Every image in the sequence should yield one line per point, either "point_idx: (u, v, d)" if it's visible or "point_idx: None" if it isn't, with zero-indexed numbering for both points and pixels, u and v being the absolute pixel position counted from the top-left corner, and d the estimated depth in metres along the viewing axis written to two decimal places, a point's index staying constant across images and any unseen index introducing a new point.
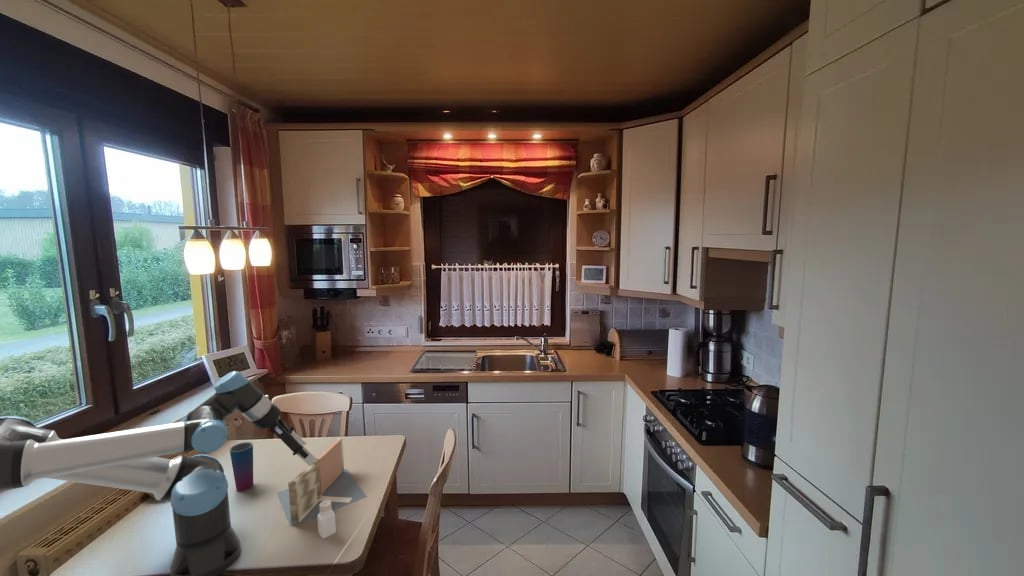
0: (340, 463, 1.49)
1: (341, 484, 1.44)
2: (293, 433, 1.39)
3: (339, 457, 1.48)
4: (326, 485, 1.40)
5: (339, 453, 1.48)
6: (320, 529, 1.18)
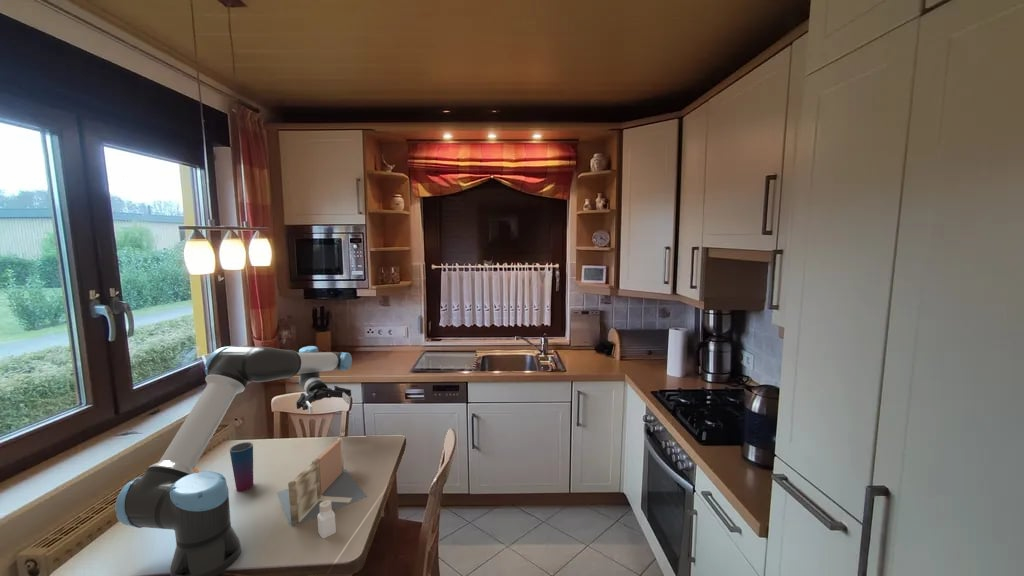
0: (340, 463, 1.49)
1: (341, 484, 1.44)
2: None
3: (339, 457, 1.48)
4: (326, 485, 1.40)
5: (339, 453, 1.48)
6: (320, 529, 1.18)
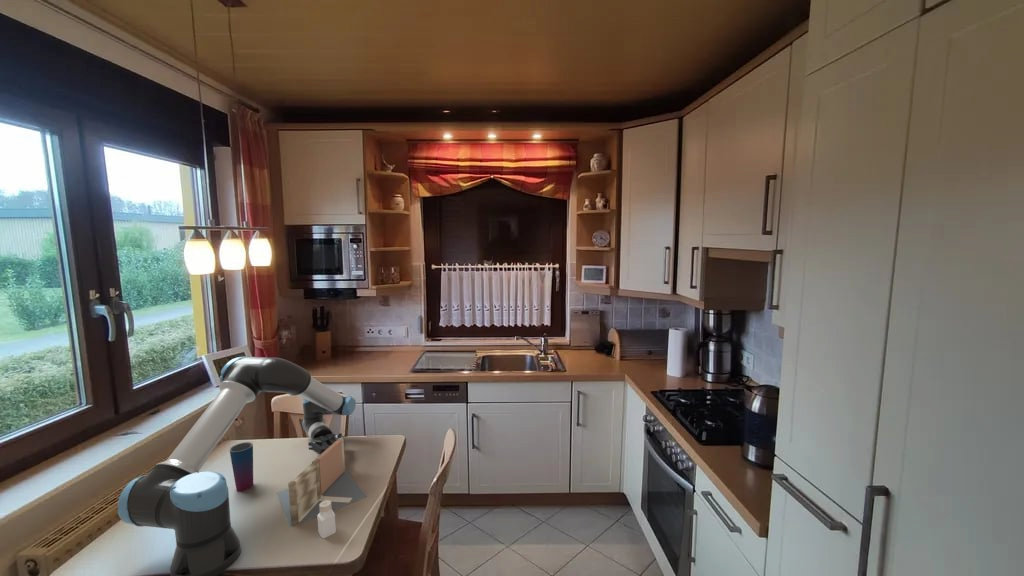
0: (341, 463, 1.49)
1: (341, 484, 1.44)
2: None
3: (340, 457, 1.48)
4: (326, 485, 1.40)
5: (340, 453, 1.48)
6: (320, 529, 1.18)
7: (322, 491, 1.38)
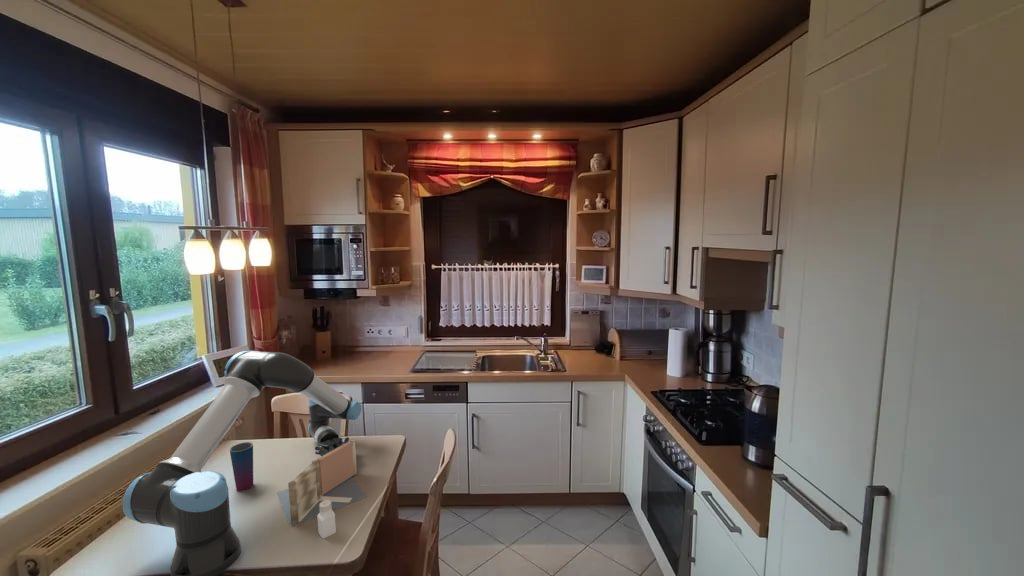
0: (351, 465, 1.48)
1: (341, 484, 1.44)
2: None
3: (350, 459, 1.47)
4: (329, 486, 1.39)
5: (350, 455, 1.47)
6: (320, 529, 1.18)
7: (323, 492, 1.37)
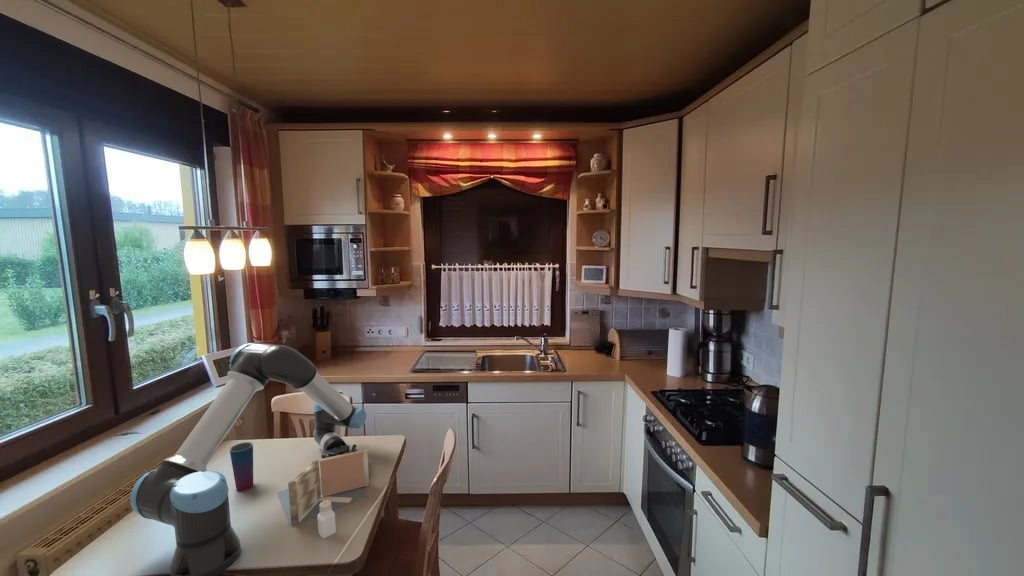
0: (361, 476, 1.41)
1: None
2: None
3: (359, 469, 1.40)
4: (331, 490, 1.37)
5: (360, 465, 1.40)
6: (320, 529, 1.18)
7: (323, 494, 1.36)
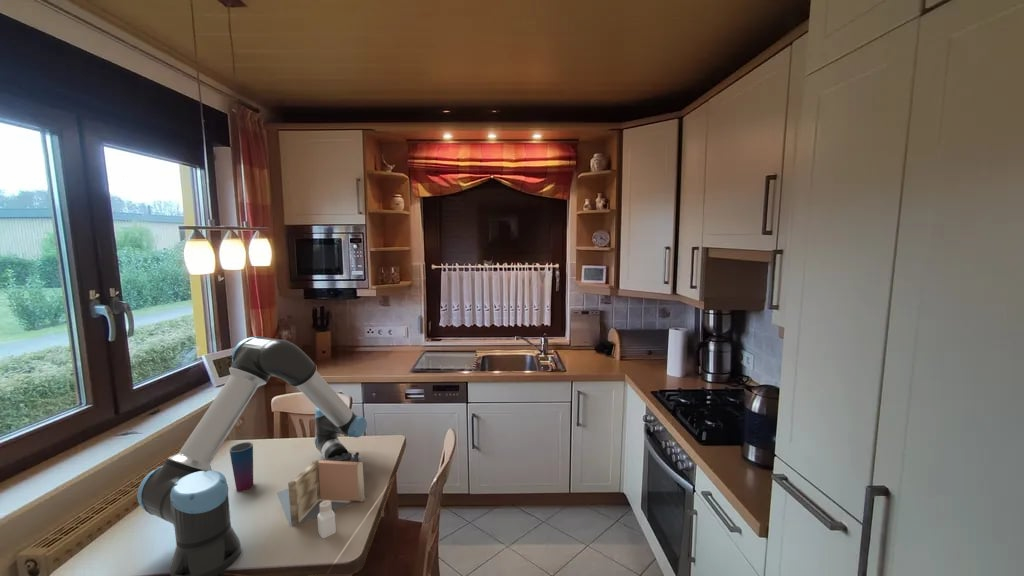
0: (355, 489, 1.33)
1: None
2: None
3: (354, 482, 1.33)
4: (328, 494, 1.35)
5: (354, 477, 1.33)
6: (320, 529, 1.18)
7: (321, 496, 1.35)
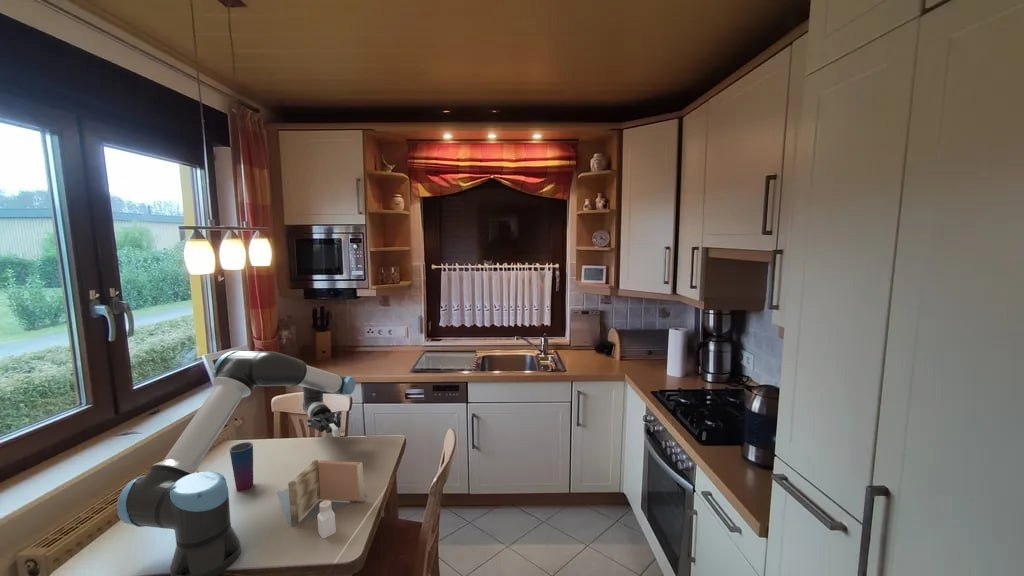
0: (355, 489, 1.33)
1: None
2: None
3: (354, 482, 1.33)
4: (328, 494, 1.35)
5: (354, 478, 1.33)
6: (320, 529, 1.18)
7: (321, 496, 1.35)
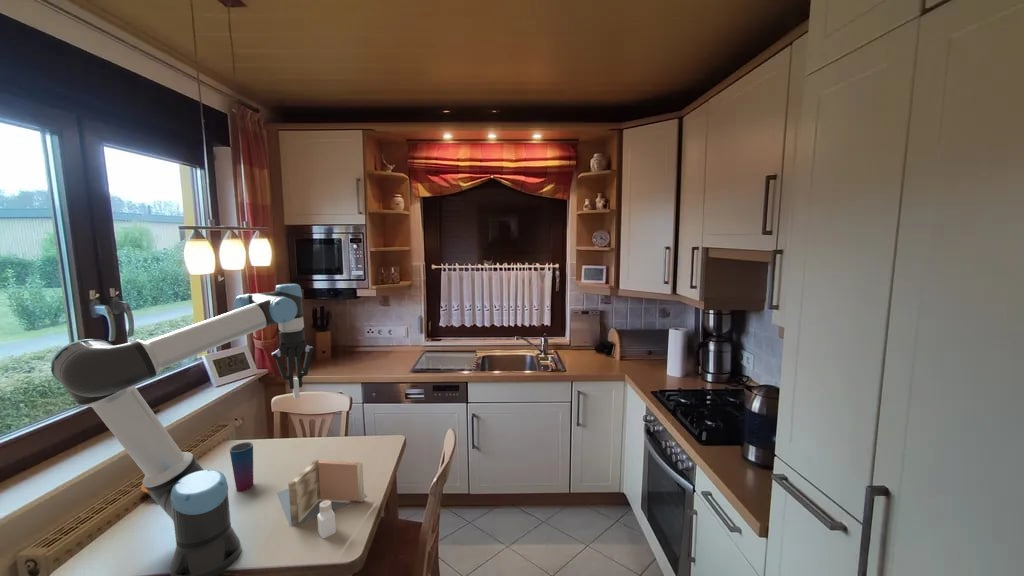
0: (355, 489, 1.33)
1: None
2: None
3: (354, 482, 1.33)
4: (328, 494, 1.35)
5: (354, 478, 1.33)
6: (320, 529, 1.18)
7: (321, 496, 1.35)
